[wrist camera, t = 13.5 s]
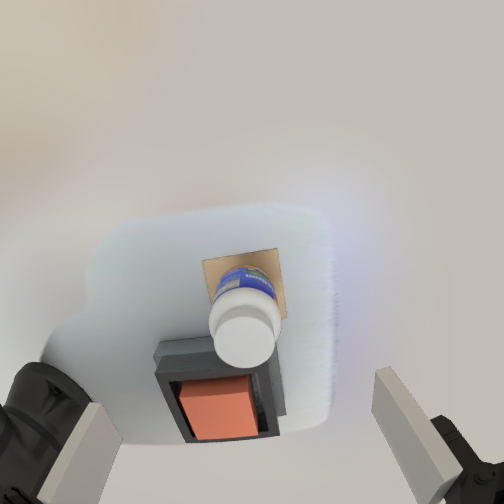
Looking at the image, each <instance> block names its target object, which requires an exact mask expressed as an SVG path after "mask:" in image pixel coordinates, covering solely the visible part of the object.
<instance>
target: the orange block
mask: <svg viewBox="0 0 504 504" xmlns="http://www.w3.org/2000/svg"><path fill="white" fill-rule="evenodd" d="M179 398H180V401H181V403H182V405H183V408H184V410H185V413H186V415H187V417H188V419H189V422H190V424H191V426H192V429H193V431H194V433H195V435H196V437H197V439H198V440H202V439H222V438H235V437H246V436H255V435H258V421H257V404H256V398H255V394H254V389H253V385H252V380H251V376H250V374H245V375H238V376H229V377H220V378H210V379H199V380H185V381H184V383H183V386H182V390H181V394H180V397H179Z"/></svg>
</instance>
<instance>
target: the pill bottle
mask: <svg viewBox="0 0 504 504" xmlns="http://www.w3.org/2000/svg"><path fill="white" fill-rule="evenodd" d="M281 327H282V318H281V313H280V309H279V305H278V301H277V297H276V293H275V289H274V285H273V283H272V281H271V279H270V277H269V276H268V275H267V274H266V273H265V272H264V271H263V270H261V269H259V268H257V267H254V266H248V265H243V266H238V267H235V268H232V269H231V270H229V271H227V272H226V273H225V274H224V275H223V276H222V278H221V279H220V281H219V283H218V285H217V289H216V292H215V296H214V299H213V303H212V306H211V310H210V314H209V330H210V333H211V336H212V338H213V339H214V347H215V350H216V352H217V354H218V356H219V357H220V358H221V359H222V360H223V361H224V362H226V363H227V364H229V365H231V366H234V367H238V368H251V367H255V366H258V365H260V364H262V363H264V362H265V361H266V360H267V359H268V358H269V357H270V356H271V354H272V353H273V350H274V347H275V342H276V340H277V339H278V337H279V334H280V332H281Z"/></svg>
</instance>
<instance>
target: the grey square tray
mask: <svg viewBox="0 0 504 504" xmlns="http://www.w3.org/2000/svg"><path fill="white" fill-rule="evenodd" d="M153 357H154V360H155V363H156V365H157V369H156V371H155V376H156V378H157V381H158V383H159V385H160V388H161V390H162V393H163V395H164V397H165V399H166V402H167V404H168V406H169V408H170V411H171V413H172V415H173V417H174V419H175V421H176V424H177V426H178V428H179V430H180V432H181V434H182V436H183V438H184V440H185V442H186V443H208V442H226V441H239V440H249V439H258V438H266V437H273V436H280V431H279V424H278V417H277V416H284V415H286V408H285V401H284V395H283V388H282V381H281V374H280V367H279V361H278V354H277V347H276V342H275V347H274V350H273V353H272V354H271V356H270V357H269V358H268V359H267V360H266V361H265V362H264V363H262V364H260V365H258V366H255V367H251V368H238V367H234V366H231V365H229V364H227V363H226V362H224V361H223V360H222V359H221V358H220V357H219V356H218V354H217V352H216V350H215V347H214V339H213V338H212V336H208V337H199V338H190V339H181V340H171V341H160V343H159V345H158V347H157V349H156V351H155V354H154V356H153ZM253 373H254V374H255V379H256V384H257V388H258V393H254V394H255V398H256V404H257V421H258V435H255V436H246V437H235V438H222V439H202V440H198V439H197V437H196V435H195V433H194V431H193V429H192V426H191V424H190V422H189V419H188V417H187V415H186V413H185V410H184V408H183V405H182V403H181V401H180V398H179V397H180V394H181V390H182V386H183V383H184V381H185V380H199V379H210V378H220V377H229V376H238V375H245V374H253Z"/></svg>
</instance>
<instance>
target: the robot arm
mask: <svg viewBox="0 0 504 504" xmlns="http://www.w3.org/2000/svg"><path fill="white" fill-rule="evenodd" d="M372 413H373V415H374V417H375V419H376V421H377V423H378V425H379V427H380V428H381V431H382V432H383V434H384V436H385V438H386V440H387V442H388V444H389V446H390V448H391V450H392V452H393V454H394V456H395V458H396V460H397V462H398V464H399V466H400V468H401V470H402V472H403V474H404V476H405V478H406V480H407V482H408V484H409V486H410V488H411V490H412V492H413V494H414V496H415V499H416V501H417V503H418V504H439V503H440V502H441V500H442V499H443V498H444V499H445V501H446V504H504V462H501V463H498V464H492V463H487V462H483V461H481V460H480V459H479V458H478V456H477V455H476V453H475V452H474V451H473V449H472V448H471V447H470V445H469V444H468V443H467V441H466V440H465V439H464V437H462V435H461V434H460V432H459V431H458V430H457V428H456V427H455V425H454V424H453V423H452V422H451V420H449V419H447V418H446V417H444V416H442V415H440V416H438V417H435V418H433V419H431V420H429V419H428V417H427V416H426V414H425V413H424V412H423V410H422V409H421V407H420V406H419V405H418V403H417V402H416V400H415V399H414V398H413V396H412V395H411V393H410V392H409V391H408V389H407V388H406V387H405V385H404V384H403V383H402V381H401V380H400V378H399V377H398V376H397V374H396V373H395V372H394V370H393V369H392V368H391V366H389V367H386V368H383V369H380V370H376V371H375V383H374V393H373V403H372ZM122 440H123V438H122V437H121V435H120V434H119V432H118V430H117V429H116V427H115V426H114V424H113V422H112V421H111V419H110V417H109V416H108V414H107V412H106V410H105V409H104V407H103V405H102V403H93V402H92V401H91V400H90V398H89V397H88V396H87V395H86V394H85V392H84V391H83V390H82V389H81V388H80V387H79V386H78V385H77V384H76V383H75V382H73V381H72V380H71V379H70V378H68V377H67V376H66V375H64V374H63V373H62V372H60V371H58V370H57V369H55V368H53V367H51V366H49V365H46V364H43V363H39V362H31V363H27V364H26V365H25V366H24V367H23V368H22V369H21V370H20V371H19V372H18V373H17V374H16V376H15V379H14V382H13V384H12V387H11V389H10V392H9V395H8V398H7V401H6V403H5V405H4V406H3V407H2V406H1V404H0V504H98V503H99V500H100V497H101V494H102V492H103V489H104V486H105V483H106V481H107V478H108V476H109V473H110V470H111V468H112V465H113V462H114V460H115V457H116V455H117V452H118V450H119V447H120V445H121V442H122Z"/></svg>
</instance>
